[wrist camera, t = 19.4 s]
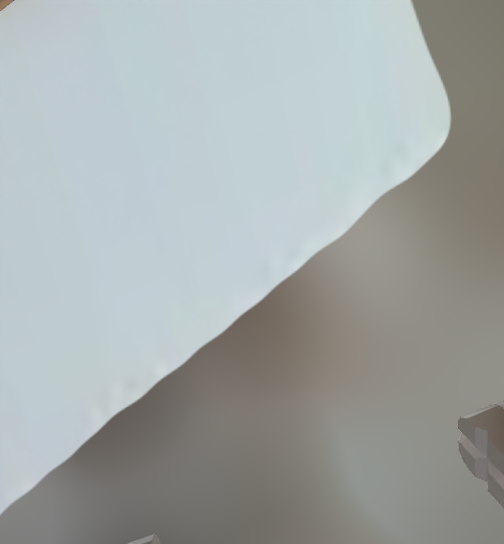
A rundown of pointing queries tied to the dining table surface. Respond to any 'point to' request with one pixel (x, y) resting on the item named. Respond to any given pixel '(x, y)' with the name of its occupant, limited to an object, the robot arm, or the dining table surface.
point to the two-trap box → (4, 3)
